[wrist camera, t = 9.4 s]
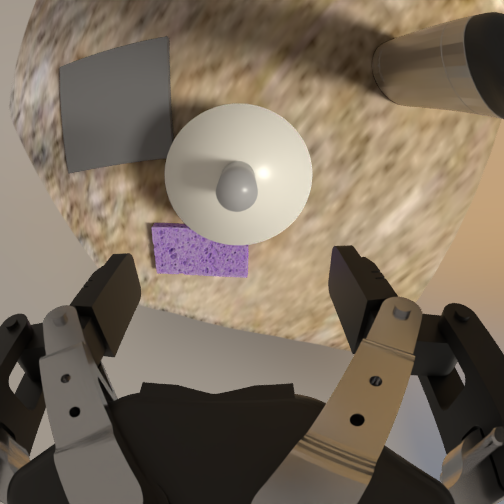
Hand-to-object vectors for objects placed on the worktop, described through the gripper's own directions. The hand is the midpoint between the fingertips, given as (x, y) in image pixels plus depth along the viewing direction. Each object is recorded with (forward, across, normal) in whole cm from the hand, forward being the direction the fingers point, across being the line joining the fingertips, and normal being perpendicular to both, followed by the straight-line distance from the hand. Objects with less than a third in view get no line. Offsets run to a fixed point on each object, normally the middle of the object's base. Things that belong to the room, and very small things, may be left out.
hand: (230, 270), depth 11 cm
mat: (+24, +15, -9) cm, 30 cm away
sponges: (+25, +6, +11) cm, 28 cm away
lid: (+18, 0, 0) cm, 18 cm away
